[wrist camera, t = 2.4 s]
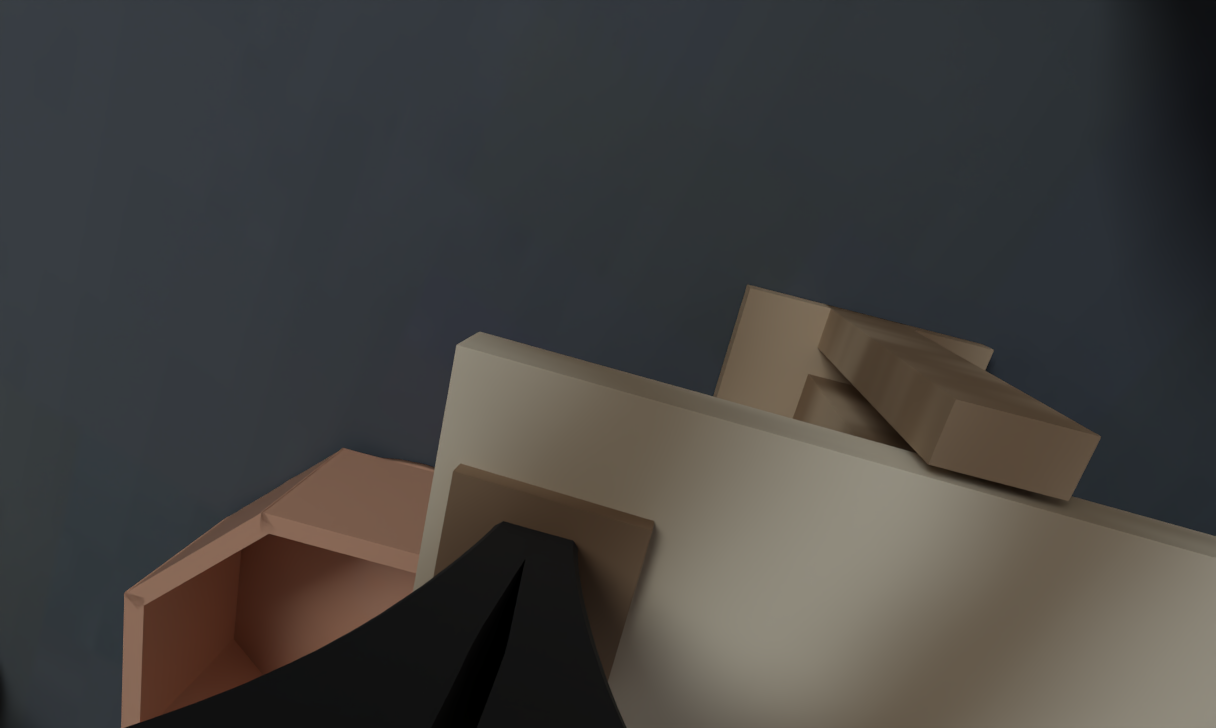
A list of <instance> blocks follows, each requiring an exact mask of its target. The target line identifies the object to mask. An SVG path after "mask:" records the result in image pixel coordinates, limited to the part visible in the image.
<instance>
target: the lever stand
mask: <svg viewBox="0 0 1216 728" xmlns="http://www.w3.org/2000/svg"><path fill="white" fill-rule="evenodd" d="M993 351H994V350H993V349H991V348H989V347H987V346H985V345H983V344H979V343H975V342H971V341H967V340H963V339H959V338H956V337H952V336H948V335H944V334H940V333H936V332H932V331H928V330H924V329H920V328H916V327H912V326H908V325H904V324H901V323H897V322H893V321H889V320H885V319H881V318H877V317H873V316H869V315H865V314H861V313H857V312H853V311H849V310H846V309H842V308H838V307H834V306H830V305H826V304H822V303H818V302H814V301H810V300H806V299H802V298H798V297H794V296H791V295H787V294H783V293H779V292H775V291H771V290H767V289H763V288H759V287H755V286H751V285H747V288H746V291H745V294H744V297H743V301H742V304H741V307H740V310H739V314H738V317H737V320H736V323H735V327H734V330H733V333H732V337H731V340H730V343H729V346H728V350H727V353H726V356H725V359H724V363H723V366H722V369H721V372H720V376H719V379H718V382H717V385H716V389H715V392H714V395H713V397H716V398H720V399H724V400H727V401H731V402H734V403H738V404H742V405H745V406H749V407H752V408H756V409H760V410H763V411H767V412H770V413H774V414H778V415H781V416H785V417H788V418H792V419H795V420H799V421H803V422H806V423H810V424H813V425H817V426H821V427H824V428H828V429H831V430H835V431H839V432H842V433H846V434H849V435H853V436H857V437H860V438H864V439H867V440H871V441H875V442H878V443H882V444H885V445H889V446H893V447H896V448H900V449H903V450H907V451H911V452H914V453H918V454H919V455H920V456H921V457H922V459H923V460H924V461H925V462H926V463H927V464H928V465H932V466H936V467H940V468H943V469H947V470H951V471H955V472H959V473H963V474H966V475H970V476H974V477H978V478H982V479H986V480H990V481H993V482H997V483H1001V484H1005V485H1009V486H1013V487H1016V488H1020V489H1024V490H1028V491H1032V492H1036V493H1039V494H1043V495H1047V496H1051V497H1055V498H1059V499H1063V500H1066V501H1069V500H1070V498H1071V496H1072V494H1073V492H1074V490H1075V488H1076V486H1077V484H1078V482H1079V480H1080V478H1081V476H1082V474H1083V472H1084V470H1085V468H1086V466H1087V464H1088V462H1089V460H1090V458H1091V456H1092V454H1093V452H1094V450H1095V448H1096V446H1097V444H1098V442H1099V440H1100V438H1101V436H1099V435H1097V434H1096V433H1094V432H1092V431H1090V430H1089V429H1087V428H1085V427H1083V426H1082V425H1080V424H1078V423H1076V422H1075V421H1073V420H1071V419H1069V418H1067V417H1066V416H1064V415H1062V414H1060V413H1059V412H1057V411H1055V410H1053V409H1052V408H1050V407H1048V406H1046V405H1045V404H1043V403H1041V402H1039V401H1038V400H1036V399H1034V398H1032V397H1031V396H1029V395H1027V394H1025V393H1023V392H1022V391H1020V390H1018V389H1016V388H1015V387H1013V386H1011V385H1009V384H1008V383H1006V382H1004V381H1002V380H1001V379H999V378H997V377H995V376H994V375H992V374H990V373H988V372H987V371H985V370H986V368H987V365H988V363H989V361H990V358H991V356H992V354H993Z"/></svg>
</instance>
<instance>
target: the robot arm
mask: <svg viewBox="0 0 1216 728" xmlns="http://www.w3.org/2000/svg"><path fill="white" fill-rule="evenodd" d="M125 728H627V727H626V725H625V723H624V721H623V718H622V716H621V714H620V711H619V709H618V707H617V704H616V702H615V699H614V697H613V694H612V692H611V689H610V686H609V684H608V681H607V678H606V675H605V672H604V669H603V666H602V663H601V660H600V657H599V654H598V651H597V648H596V645H595V641H594V638H593V635H592V631H591V627H590V623H589V619H588V615H587V611H586V607H585V603H584V598H583V593H582V587H581V581H580V575H579V566H578V548H577V546H576V544H575V542H574V541H573V540H570V539H566V538H562V537H559V536H555V535H551V534H548V533H544V532H541V531H537V530H534V529H530V528H526V527H523V526H519V525H516V524H512V523H509V522H505V521H502V522H501V523H499V524H497V525H495V526H494V527H493V528H492V529H491V530H490V531H489V532H488V533H487V534H486V535H485V536H483V537H482V538H481V539H480V540H479V541H478V542H477V543H476V544H474V545H473V546H472V547H471V548H470V549H469V550H467V551H466V552H465V553H464V554H463V555H461V556H460V557H459V558H458V559H456V560H455V561H454V562H453V563H451V564H450V565H449V566H447V567H446V568H445V569H443V570H442V571H441V572H440V573H438V574H437V575H436V576H434V577H433V578H432V579H430V580H429V581H428V582H426V583H425V584H424V585H422V586H421V587H419V588H418V589H416V590H415V591H414V592H412V593H411V594H409V595H408V596H406V597H405V598H403V599H402V600H400V601H399V602H397V603H396V604H394V605H393V606H391V607H390V608H388V609H387V610H385V611H384V612H382V613H381V614H379V615H377V616H376V617H374V618H372V619H371V620H369V621H368V622H366V623H364V624H363V625H361V626H359V627H357V628H356V629H354V630H352V631H351V632H349V633H347V634H345V635H343V636H342V637H340V638H338V639H336V640H334V641H332V642H331V643H329V644H327V645H325V646H323V647H321V648H319V649H317V650H316V651H314V652H311V653H309V654H307V655H305V656H303V657H301V658H299V659H297V660H295V661H293V662H291V663H289V664H286V665H284V666H282V667H280V668H278V669H275V670H273V671H271V672H269V673H267V674H264V675H262V676H260V677H258V678H256V679H253V680H251V681H249V682H247V683H245V684H242V685H240V686H237V687H235V688H232V689H230V690H227V691H225V692H222V693H219V694H217V695H214V696H212V697H209V698H207V699H204V700H202V701H199V702H196V703H194V704H191V705H188V706H185V707H182V708H180V709H177V710H174V711H171V712H168V713H166V714H163V715H160V716H157V717H154V718H152V719H149V720H146V721H143V722H140V723H137V724H134V725H131V726H128V727H125Z"/></svg>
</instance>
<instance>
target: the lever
mask: <svg viewBox="0 0 1216 728" xmlns="http://www.w3.org/2000/svg"><path fill="white" fill-rule="evenodd" d="M502 521H505V522H509V523H512V524H516V525H519V526H523V527H526V528H530V529H534V530H537V531H541V532H544V533H548V534H551V535H555V536H559V537H562V538H566V539H570V540H573V541H574V542H575V544H576V546H577V548H578V566H579V575H580V581H581V587H582V593H583V598H584V603H585V607H586V611H587V615H588V619H589V623H590V627H591V631H592V635H593V638H594V641H595V645H596V648H597V651H598V654H599V657H600V660H601V663H602V666H603V669H604V672H605V675H606V678H607V681H608V684H609V686H610V689H611V692H612V694H613V697H614V699H615V702H616V704H617V707H618V709H619V711H620V714H621V716H622V718H623V721H624V723H625V725H626V727H627V728H1216V536H1213V535H1209V534H1205V533H1202V532H1198V531H1195V530H1191V529H1187V528H1184V527H1180V526H1177V525H1173V524H1169V523H1166V522H1162V521H1159V520H1155V519H1151V518H1148V517H1144V516H1141V515H1137V514H1133V513H1130V512H1126V511H1123V510H1119V509H1115V508H1112V507H1108V506H1105V505H1101V504H1097V503H1094V502H1090V501H1087V500H1083V499H1080V498H1076V497H1072V496H1071V498H1070V500H1069V501H1066V500H1063V499H1059V498H1055V497H1051V496H1047V495H1043V494H1039V493H1036V492H1032V491H1028V490H1024V489H1020V488H1016V487H1013V486H1009V485H1005V484H1001V483H997V482H993V481H990V480H986V479H982V478H978V477H974V476H970V475H966V474H963V473H959V472H955V471H951V470H947V469H943V468H940V467H936V466H932V465H928V464H927V463H926V462H925V461H924V460H923V459H922V457H921V456H920V455H919V454H918V453H914V452H911V451H907V450H903V449H900V448H896V447H893V446H889V445H885V444H882V443H878V442H875V441H871V440H867V439H864V438H860V437H857V436H853V435H849V434H846V433H842V432H839V431H835V430H831V429H828V428H824V427H821V426H817V425H813V424H810V423H806V422H803V421H799V420H795V419H792V418H788V417H785V416H781V415H778V414H774V413H770V412H767V411H763V410H760V409H756V408H752V407H749V406H745V405H742V404H738V403H734V402H731V401H727V400H724V399H720V398H716V397H713V396H709V395H706V394H702V393H698V392H695V391H691V390H688V389H684V388H680V387H677V386H673V385H670V384H666V383H662V382H659V381H655V380H652V379H648V378H644V377H641V376H637V375H634V374H630V373H627V372H623V371H619V370H616V369H612V368H609V367H605V366H601V365H598V364H594V363H591V362H587V361H583V360H580V359H576V358H573V357H569V356H565V355H562V354H558V353H555V352H551V351H547V350H544V349H540V348H537V347H533V346H529V345H526V344H522V343H519V342H515V341H511V340H508V339H504V338H501V337H497V336H493V335H490V334H486V333H483V332H478V333H476V334H475V335H473V336H471V337H469V338H468V339H466V340H464V341H462V342H461V343H459V344H457V346H456V352H455V357H454V363H453V368H452V374H451V380H450V385H449V391H448V397H447V402H446V408H445V413H444V419H443V425H442V430H441V436H440V442H439V447H438V453H437V458H436V464H435V470H434V475H433V481H432V487H431V492H430V498H429V503H428V509H427V515H426V520H425V526H424V532H423V537H422V543H421V549H420V554H419V560H418V565H417V571H416V577H415V582H414V588H413V592H414V591H415V590H416V589H418V588H419V587H421V586H422V585H424V584H425V583H426V582H428V581H429V580H430V579H432V578H433V577H434V576H436V575H437V574H438V573H440V572H441V571H442V570H443V569H445V568H446V567H447V566H449V565H450V564H451V563H453V562H454V561H455V560H456V559H458V558H459V557H460V556H461V555H463V554H464V553H465V552H466V551H467V550H469V549H470V548H471V547H472V546H473V545H474V544H476V543H477V542H478V541H479V540H480V539H481V538H482V537H483V536H485V535H486V534H487V533H488V532H489V531H490V530H491V529H492V528H493V527H494V526H495V525H497V524H499V523H501V522H502Z"/></svg>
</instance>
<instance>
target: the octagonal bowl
mask: <svg viewBox="0 0 1216 728" xmlns="http://www.w3.org/2000/svg"><path fill="white" fill-rule="evenodd" d="M434 470H435V467H432V466H428V465H425V464H421V463H416V462H411V461H406V460H401V459H389V458H379V457H375V456H371V455H367V454H364V453H360V452H356V451H352V450H349V449H345V448H342V449H341V450H340V451H338V452H336V453H335V454H333V455H331V456H330V457H328V458H326V459H325V460H323V461H321V462H320V463H318V464H316V465H315V466H313V467H311V468H310V469H308V470H306V471H305V472H303V473H301V474H299V475H297V476H295V477H293V478H291V479H290V480H288V481H287V482H285V483H284V484H282V485H281V486H279V487H278V488H276V489H274V490H273V491H271V492H269V493H268V494H266V495H264V496H263V497H261V498H259V499H258V500H256V501H254V502H253V503H251V504H249V505H247V506H246V507H244V508H242V509H241V510H239V511H237V512H236V513H234V514H232V515H231V516H229V517H227V518H225V519H224V520H223V521H221V522H220V523H218V524H217V525H216V526H214V527H213V528H212V529H210V530H209V531H208V532H206V533H205V534H203V535H202V536H201V537H199V538H198V539H197V540H195V541H194V542H193V543H191V544H190V545H188V546H187V547H186V548H184V549H183V550H182V551H180V552H179V553H178V554H176V555H175V556H174V557H172V558H171V559H169V560H168V561H167V562H165V563H164V564H163V565H161V566H160V567H159V568H157V569H156V570H154V571H153V572H152V573H150V574H149V575H148V576H146V577H145V578H144V579H142V580H141V581H139V582H138V583H137V584H135V585H134V586H133V587H131V588H130V589H129V590H127V591H126V592H125V593H124V635H123V678H122V720H121V728H125V727H128V726H131V725H134V724H137V723H140V722H143V721H146V720H149V719H152V718H154V717H157V716H160V715H163V714H166V713H168V712H171V711H174V710H177V709H180V708H182V707H185V706H188V705H191V704H194V703H196V702H199V701H202V700H204V699H207V698H209V697H212V696H214V695H217V694H219V693H222V692H225V691H227V690H230V689H232V688H235V687H237V686H240V685H242V684H245V683H247V682H249V681H251V680H253V679H256V678H258V677H260V676H262V675H264V674H267V673H269V672H271V671H273V670H275V669H278V668H280V667H282V666H284V665H286V664H289V663H291V662H293V661H295V660H297V659H299V658H301V657H303V656H305V655H307V654H309V653H311V652H314V651H316V650H317V649H319V648H321V647H323V646H325V645H327V644H329V643H331V642H332V641H334V640H336V639H338V638H340V637H342V636H343V635H345V634H347V633H349V632H351V631H352V630H354V629H356V628H357V627H359V626H361V625H363V624H364V623H366V622H368V621H369V620H371V619H372V618H374V617H376V616H377V615H379V614H381V613H382V612H384V611H385V610H387V609H388V608H390V607H391V606H393V605H394V604H396V603H397V602H399V601H400V600H402V599H403V598H405V597H406V596H408V595H409V594H411V593H412V592H413V588H414V582H415V577H416V571H417V565H418V560H419V554H420V549H421V543H422V537H423V532H424V526H425V520H426V515H427V509H428V503H429V498H430V492H431V487H432V481H433V475H434Z"/></svg>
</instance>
